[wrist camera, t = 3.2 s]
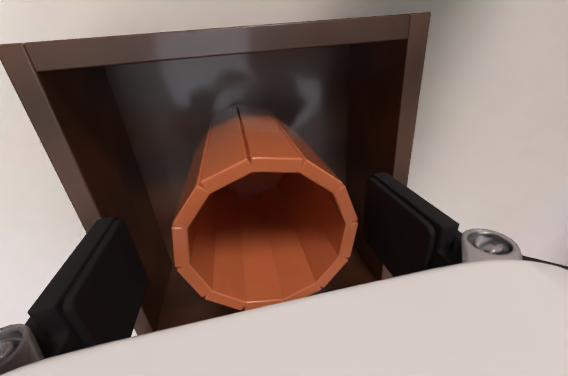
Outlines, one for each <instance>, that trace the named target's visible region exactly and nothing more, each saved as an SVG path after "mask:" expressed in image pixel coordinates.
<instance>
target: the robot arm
mask: <svg viewBox="0 0 568 376" xmlns="http://www.w3.org/2000/svg"><path fill="white" fill-rule="evenodd" d="M458 227H459V224H458V223H457V222H456V221H454V220H453V219H451V218H450V217H448V216H447V215H446V214H444V213H443V212H441V211H440V210H439V209H437V208H436V207H434V206H433V205H432V204H430V203H429V202H427V201H426V200H424V199H423V198H422V197H420V196H419V195H417V194H416V193H415V192H413V191H412V190H410V189H409V188H408V187H406V186H405V185H403V184H402V183H400V182H399V181H398V180H396V179H395V178H393V177H392V176H391V175H389V174H388V173H386V172H382V173H376V174H371V175H370V177H369V178H367V179H366V185H365V202H364V218H363V237H364V240H365V241H366V243H367V244H368V245H369V246H370V248H371V249H372V250H373V252H374V253H375V254H376V255H377V257H378V258H379V259H380V261H381V262H382V263H383V264H384V266H385V267H386V268H387V270H388V271H389V272H390V273H391V275H392V276H393V277H392V278H388V279H383V280H379V281H374V282H370V283H365V284H361V285H356V286H352V287H348V288H343V289H339V290H334V291H330V292H326V293H321V294H317V295H312V296H308V297H304V298H299V299H295V300H290V301H286V302H282V303H277V304H273V305H268V306H264V307H260V308H255V309H251V310H246V311H242V312H238V313H233V314H229V315H224V316H220V317H216V318H211V319H207V320H202V321H198V322H194V323H189V324H185V325H181V326H176V327H172V328H168V329H164V330H159V331H155V332H151V333H146V334H142V335H138V336H134V337H131V335H132V332H133V329H134V325H135V322H136V319H137V316H138V313H139V310H140V307H141V304H142V301H143V297H144V294H145V291H146V288H147V285H148V277H147V273H146V271H145V268H144V266H143V264H142V261H141V259H140V256H139V254H138V251H137V249H136V246H135V244H134V242H133V239H132V237H131V234H130V232H129V229H128V227H127V224H126V222H125V221H124V220H123V219H122V220H120V219H119V218H118V217H110V218H104V219H98V220H97V221H96V222H95V223H94V225H93V226H92V227H91V229H90V230H89V231H88V233H87V234H86V235H85V237H84V238H83V239H82V241H81V242H80V243H79V245H78V246H77V247H76V249H75V250H74V251H73V252H72V254H71V255H70V256H69V258H68V259H67V260H66V262H65V263H64V264H63V266H62V267H61V268H60V270H59V271H58V272H57V274H56V275H55V276H54V278H53V279H52V280H51V282H50V283H49V284H48V286H47V287H46V288H45V290H44V291H43V292H42V294H41V295H40V296H39V298H38V299H37V300H36V301H35V303H34V304H33V305H32V307H31V308H30V309H29V311H28V312H27V313H28V314H29V315H30V318H29V319H28V321H27V322H26V323H25V325H24V324H15V325H9V326H6V327H3V328H0V376H568V267H567V266H563V265H559V264H555V263H551V262H547V261H543V260H538V259H534V258H530V257H526V256H522V255H521V251H520V248H519V247H518V245H517V244H516V243H515V242H514V241H513V240H512V239H510V238H509V237H507V236H505V235H503V234H501V233H498V232H495V231H491V230H487V229H479V228H478V229H469V230H466V231H465V232H463V233H461V232H459V231H458Z"/></svg>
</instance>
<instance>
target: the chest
mask: <svg viewBox="0 0 568 376" xmlns="http://www.w3.org/2000/svg"><path fill="white" fill-rule="evenodd" d="M430 16H431V13H430V12H425V13H412V14H399V15H385V16H372V17H359V18H345V19H332V20H319V21H306V22H292V23H279V24H266V25H253V26H239V27H226V28H213V29H200V30H186V31H173V32H160V33H146V34H133V35H120V36H107V37H93V38H80V39H67V40H54V41H40V42H27V43H14V44H1V45H0V60H1V62H2V64H3V66H4V68H5V70H6V72H7V74H8V76H9V78H10V80H11V82H12V84H13V86H14V88H15V90H16V92H17V94H18V96H19V98H20V100H21V102H22V104H23V106H24V108H25V110H26V112H27V115H28V117H29V119H30V121H31V123H32V125H33V127H34V129H35V131H36V133H37V135H38V137H39V139H40V141H41V143H42V145H43V147H44V149H45V151H46V153H47V155H48V157H49V159H50V161H51V163H52V165H53V167H54V169H55V171H56V173H57V175H58V177H59V179H60V181H61V183H62V185H63V187H64V189H65V191H66V193H67V195H68V197H69V199H70V201H71V203H72V205H73V207H74V209H75V211H76V213H77V215H78V217H79V219H80V221H81V223H82V225H83V227H84V229H85V231H86V233H88V231H89V230H90V229H91V227H92V226H93V225H94V223H95V222H96V221H97V220H98V219H104V218H110V217H118V218H119V219H120V220H122V219H123V220H124V221H125V222H126V224H127V227H128V229H129V232H130V234H131V237H132V239H133V242H134V244H135V246H136V249H137V251H138V254H139V256H140V259H141V261H142V264H143V266H144V268H145V271H146V273H147V277H148V285H147V288H146V291H145V294H144V297H143V301H142V304H141V307H140V310H139V313H138V316H137V319H136V322H135V325H134V329H135V331H136V333H137V335H142V334H146V333H151V332H155V331H159V330H164V329H168V328H172V327H176V326H181V325H185V324H189V323H194V322H198V321H202V320H207V319H211V318H216V317H220V316H224V315H229V314H233V313H238V312H242V311H245V310H244V308H243V309H242V310H241V311H240V310H237V309H234V308H231V307H228V306H225V305H221V304H218V303H215V302H212V301H209V300H206V299H205V296H204V297H201V296H200V295H199V294H198V293H197V292H196V291H195V289H194V288H193V287H192V286H191V285H190V284H189V283H188V282H187V281H186V280H185V279H184V278H183V277H182V275H181V274H180V273H179V272H178V271H177V267H175V263H174V252H173V242H172V232H171V228H172V225H173V220H174V217H175V214H176V210H177V207H178V204H179V201H180V198H181V194H182V191H183V188H184V185H185V182H186V178H187V175H188V172H189V169H190V166H191V162H192V159H193V156H194V153H195V150H196V146H197V143H198V140H199V138H200V137H201V135H202V133H203V131H204V129H205V127H206V126H207V124H208V123H209V121H210V120H211V119H212V118H213V117H214V116H216V115H217V114H218V113H220V112H221V111H223V110H225V109H227V108H229V107H232V106H236V105H242V104H252V105H259V106H262V107H265V108H268V109H270V110H272V111H273V112H275V113H276V114H278V115H279V116H280V117H281V118H283V119H284V120H285V121H287V122H288V123H289V125H290V126H291V127H292V128H293V129H294V130H295V131H296V132H297V133H298V134H299V135H300V137H301V138H302V139H303V140H304V141H305V142H306V143H307V144H308V145H309V146H310V148H311V149H312V150H313V151H314V152H315V153H316V154H317V155H318V156H319V157H320V158H321V160H322V161H323V162H324V163H325V164H326V165H327V166H328V167H329V168H330V169H331V171H332V172H333V173H334V174H335V175H336V176H337V177H338V178H339V179H340V180H341V181H342V183H343V184H344V185H345V186H346V189H347V192H348V194H349V197H350V199H351V202H352V205H353V207H354V210H355V212H356V215H357V218H358V220H357V222H358V227H357V231H356V235H355V239H354V243H353V247H352V251H351V255H350V257H349V258H347V259H348V261H347V262H346V264H345V265H344V266H343V267H342V268H341V269H340V270H339V271H338V273H337V274H336V275H335V276H334V277H333V278H332V279H331V280H330V282H329V283H328V284H327V285H326V286H325V287H321V286H320V287H321V290H320V291H318V292H316V293H314V294H312V295H317V294H321V293H326V292H330V291H334V290H339V289H343V288H348V287H352V286H356V285H361V284H365V283H370V282H374V281H379V280H383V279H388V278H392V277H393V276H392V275H391V273H390V272H389V271H388V270H387V268H386V267H385V266H384V264H383V263H382V262H381V261H380V259H379V258H378V257H377V255H376V254H375V253H374V252H373V250H372V249H371V248H370V246H369V245H368V244H367V243H366V241H365V240H364V237H363V218H364V202H365V185H366V179H367V178H369V177H370V175H371V174H376V173H382V172H386V173H388V174H389V175H391V176H392V177H393V178H395V179H396V180H398V181H399V182H400V183H402V184H403V185H405V186H406V187H407V180H408V173H409V166H410V159H411V151H412V144H413V137H414V130H415V123H416V116H417V109H418V101H419V94H420V87H421V80H422V73H423V66H424V58H425V51H426V44H427V37H428V30H429V23H430ZM312 295H310V296H312Z"/></svg>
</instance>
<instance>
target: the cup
mask: <svg viewBox="0 0 568 376" xmlns="http://www.w3.org/2000/svg"><path fill="white" fill-rule="evenodd" d="M357 220H358V218H357V215H356V212H355V210H354V207H353V205H352V202H351V199H350V197H349V194H348V192H347V189H346V186H345V185H344V184H343V183H342V181H341V180H340V179H339V178H338V177H337V176H336V175H335V174H334V173H333V172H332V171H331V169H330V168H329V167H328V166H327V165H326V164H325V163H324V162H323V161H322V160H321V158H320V157H319V156H318V155H317V154H316V153H315V152H314V151H313V150H312V149H311V148H310V146H309V145H308V144H307V143H306V142H305V141H304V140H303V139H302V138H301V137H300V135H299V134H298V133H297V132H296V131H295V130H294V129H293V128H292V127H291V126H290V125H289V123H288V122H287V121H285V120H284V119H283V118H281V117H280V116H279V115H278V114H276V113H275V112H273V111H272V110H270V109H268V108H265V107H262V106H259V105H252V104H242V105H236V106H232V107H229V108H227V109H225V110H223V111H221V112H220V113H218V114H217V115H216V116H214V117H213V118H212V119H211V120H210V121H209V123H208V124H207V126H206V127H205V129H204V131H203V133H202V135H201V137H200V138H199V140H198V143H197V146H196V150H195V153H194V156H193V159H192V162H191V166H190V169H189V172H188V175H187V178H186V182H185V185H184V188H183V191H182V194H181V198H180V201H179V204H178V207H177V210H176V214H175V217H174V220H173V225H172V228H171V232H172V242H173V252H174V263H175V267H177V271H178V272H179V273H180V274H181V275H182V277H183V278H184V279H185V280H186V281H187V282H188V283H189V284H190V285H191V286H192V287H193V288H194V289H195V291H196V292H197V293H198V294H199V295H200V296H201V297H204V296H205V299H206V300H209V301H212V302H215V303H218V304H221V305H225V306H228V307H231V308H234V309H237V310H240V311H241V310H242V309H243V308H244V310H245V311H246V310H251V309H255V308H260V307H264V306H268V305H273V304H277V303H282V302H286V301H290V300H295V299H299V298H304V297H308V296H310V295H312V294H314V293H316V292H318V291H320V290H321V287H325V286H326V285H327V284H328V283H329V282H330V280H331V279H332V278H333V277H334V276H335V275H336V274H337V273H338V271H339V270H340V269H341V268H342V267H343V266H344V265H345V264H346V262H347V261H348V259H347V258H349V257H350V255H351V251H352V247H353V243H354V239H355V235H356V231H357V227H358V222H357ZM320 286H321V287H320Z"/></svg>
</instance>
